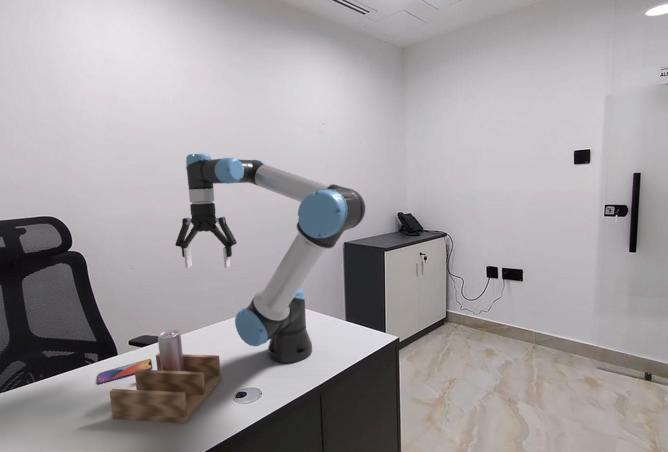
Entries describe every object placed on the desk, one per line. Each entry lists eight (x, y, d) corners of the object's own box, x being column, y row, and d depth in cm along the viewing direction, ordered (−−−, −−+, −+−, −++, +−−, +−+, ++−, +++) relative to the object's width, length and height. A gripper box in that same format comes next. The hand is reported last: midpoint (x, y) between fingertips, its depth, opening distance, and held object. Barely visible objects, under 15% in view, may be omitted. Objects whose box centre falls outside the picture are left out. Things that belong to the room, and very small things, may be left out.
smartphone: (98, 376, 111) (98, 372, 111) (151, 361, 119) (150, 358, 119) (97, 387, 105) (96, 384, 105) (152, 370, 112) (152, 367, 112)
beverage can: (162, 380, 103) (157, 332, 101) (184, 374, 106) (179, 327, 104) (163, 390, 98) (157, 340, 96) (186, 384, 101) (181, 335, 99)
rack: (221, 378, 106) (219, 355, 105) (185, 423, 86) (182, 395, 85) (160, 376, 108) (158, 353, 107) (112, 418, 89) (109, 391, 88)
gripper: (243, 200, 114) (248, 263, 117) (173, 203, 118) (179, 264, 121) (234, 202, 107) (239, 269, 110) (159, 204, 110) (166, 269, 113)
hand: (208, 266), depth 115 cm, fingers open, 13 cm apart
